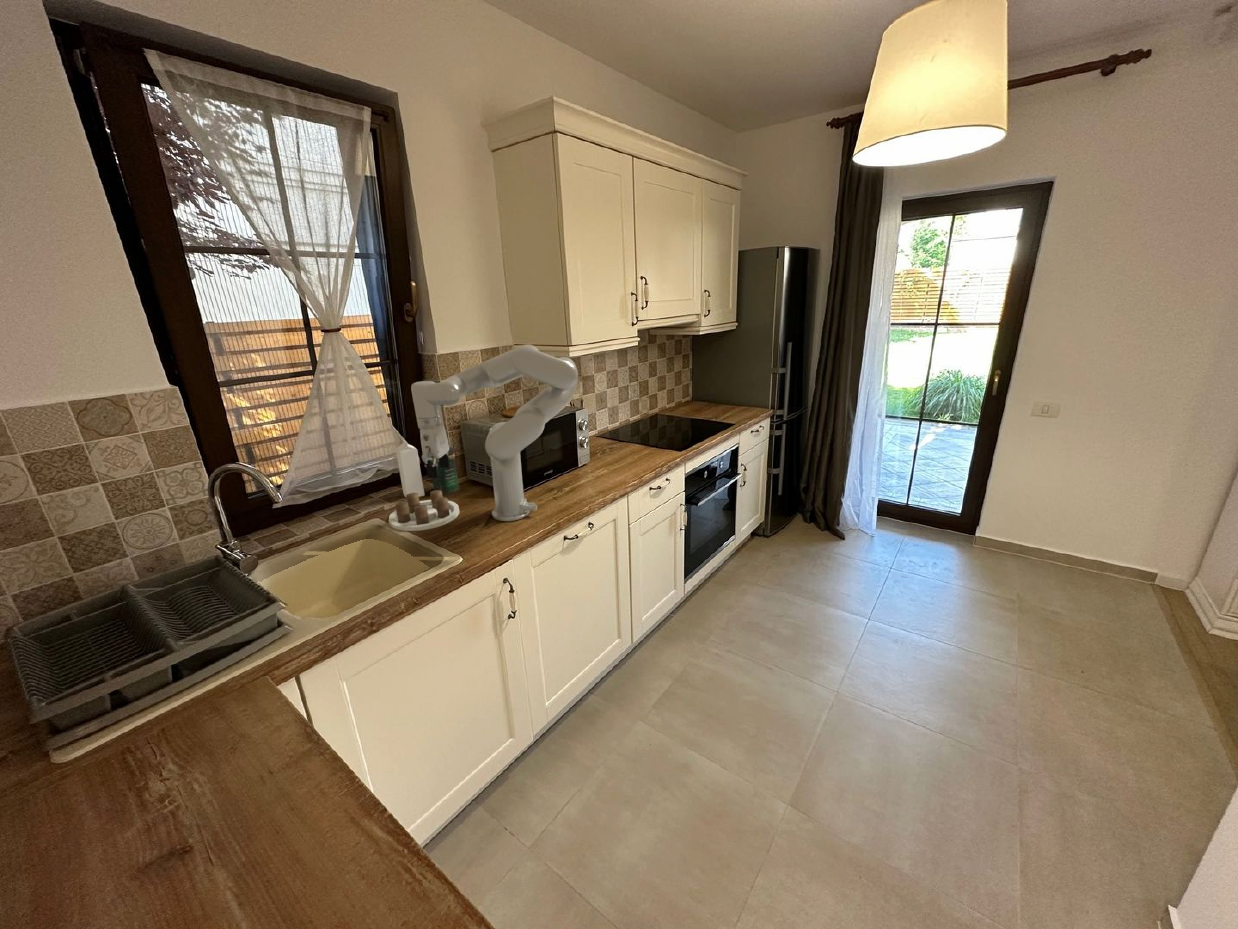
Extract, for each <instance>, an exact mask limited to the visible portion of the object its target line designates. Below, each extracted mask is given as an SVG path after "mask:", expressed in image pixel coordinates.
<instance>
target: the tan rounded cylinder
mask: <svg viewBox="0 0 1238 929" xmlns="http://www.w3.org/2000/svg"><path fill="white" fill-rule="evenodd" d="M435 501H436V508H437V514H438V518H445V517H447V516H449V515H450V512H449V506H448V501H449V499H448V497H445V496H443V497H440V498H437V499H436V500H435Z"/></svg>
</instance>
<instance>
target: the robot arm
mask: <svg viewBox="0 0 1238 929" xmlns="http://www.w3.org/2000/svg"><path fill="white" fill-rule="evenodd" d="M522 377H526V378H528V379H531V380H533V381H536V382H539V383H542V384H544V385H547V386H546V388H544V389H543V390H541V391H540V392H539V393H538V394H537V395H536V396H535V397H533V398H532V399H530V400H529V401H527V402H526V403H524V404H523V405H521V406H519V408H517V410H516V412H515V414H514V415H513V417H511V418H510V419H509V420H507V421H505V422H504V421H500V422H498V423H495V424H494V425H493V426H492V427H491V428H490V429H489V432H488V434H487V435H486V436H487V437H486V439H485V441H484V442H485V443H484V449H485V452H486V453H487V455H488V457H490V465H491V477H492V484H493V494H494V502H495V503H494V505H495V508H494V509H492V510H491V517H492V518H493V519H495V520H497V521H501V522H512V521H513V522H514V521H518V520H521V519H523V518H525V517H527V516H528V515H529V514H530V511H537V510H538V505H537V504H536V503H535V502H528V501H527V497H525V496H524V495H525V494H524V484H523V474H522V462H521V452H522V451H523V450H524V449H525V448H527V447H528V446H529V445H530V444H532V443H534V442H535V441H536V440H537V439H538V438H539V437H540V436H541V435H542V433H543V431H544V429H545V427H546V426H545V425H546V423H548V422H549V421H550V420H552V419H553V418H554V417H555V416H556V415H558V414H559V413H560V412H561V411H562V410H563V409H565V407H567V405H569V403H570V402H571V401H572V399H573V397H574V395H575V393H576V390H577V388H578V377H579V372H578V367H577V365H576V363H575V362H574V361H573V360H572V359H571V358H569V357H565V356H561V357H555V356H553V355H550V354H547V353H545V352H542V351H540V350H539V348H537V347H536V346H534V345H532V344H529V343H528V344H527V343H526V344H521V345H520V346H518V347H515V348H513V349H510V350H508V351H506V352H504V353H501V354H499V355H497V356H494V357H492V358H489V359H487V360H485V361H482V362H481V363H479V364H476V365H475V366H472V367H470V368H467V369H465V370H462V371H460V372H458V373H456V374H453V375H451V376H449V377H446V378H445V380H442V381H440V382H435V381H432V380H422V381H416V382H413V383H412V384H411V386H410V387H411V388H410V389H411V395H412V402H413V405H414V411H415V417H416V422H417V423H416V424H417V427H418V429H419V434H420V444H421V451H422V455H421V459H422V461H423V465H424V467H425V469H426V474H427V478H428V479H433V478H438V471H437V466H435V462H436V458H437V459H439V463H440V467H441V468H449V467H450V463H449V457H448V451H449V446H450V445H449V440H448V439H449V438H448V436H447V431H446V428H445V425H444V423H445V422H444V419H443V413H442V406H450V407H451V406H455V405H457V404H458V403H460V401H461V400H462V399H463V398H465V397H466V396H469V395H472V394H475V393H476V392H477V391H481V390H484V389H487V388H497V387H498V388H499V387H500V386H504V385H505V384H508V383H510V382H512V381H514V380H517V379H519V378H522ZM431 456H433V457H431ZM430 460H432V462H431V461H430Z"/></svg>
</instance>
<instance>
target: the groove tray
mask: <svg viewBox="0 0 1238 929" xmlns="http://www.w3.org/2000/svg"><path fill="white" fill-rule="evenodd" d="M419 502H420V505H426V506H427V511H428V517H429V523H428V524H421V525H417V523H416V517H415V512H414V513H410V518H411V520H410V521H409V522H407V523H399V522H398V518H397V512H396V509H395V510H394V511H393V512H392V513H390V514H389V518H388V524H389V526H391V528H393V529H395V530H398V531H405V532H418V531H426V530H431V529H435V528H438V527H441V526H444V525H446V524H448V523H450V522H452V521H454V520H455V519H456V518H458V516H459V514H460V508H459V504H457V503H456V502H454V501H451V500H448V506H449V512H450V515H449V516H447V517H445V518H438V514H437V510H436V509H434V508H432V502H431V499H427V500H425V499H424V500H419Z"/></svg>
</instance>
